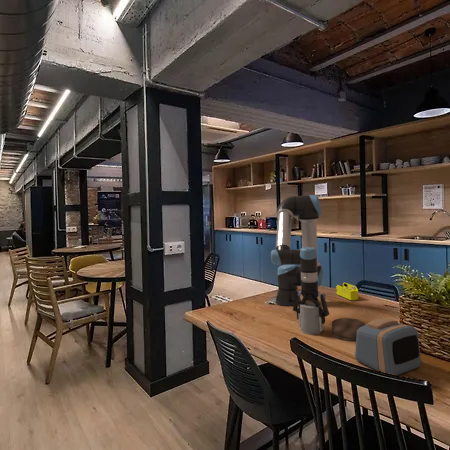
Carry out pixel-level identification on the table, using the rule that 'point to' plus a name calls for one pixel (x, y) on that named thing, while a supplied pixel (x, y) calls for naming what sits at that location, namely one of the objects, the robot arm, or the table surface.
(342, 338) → the plinth
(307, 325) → the speckled grey cylinder
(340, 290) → the yellow toy chassis
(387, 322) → the alarm clock
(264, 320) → the table surface
